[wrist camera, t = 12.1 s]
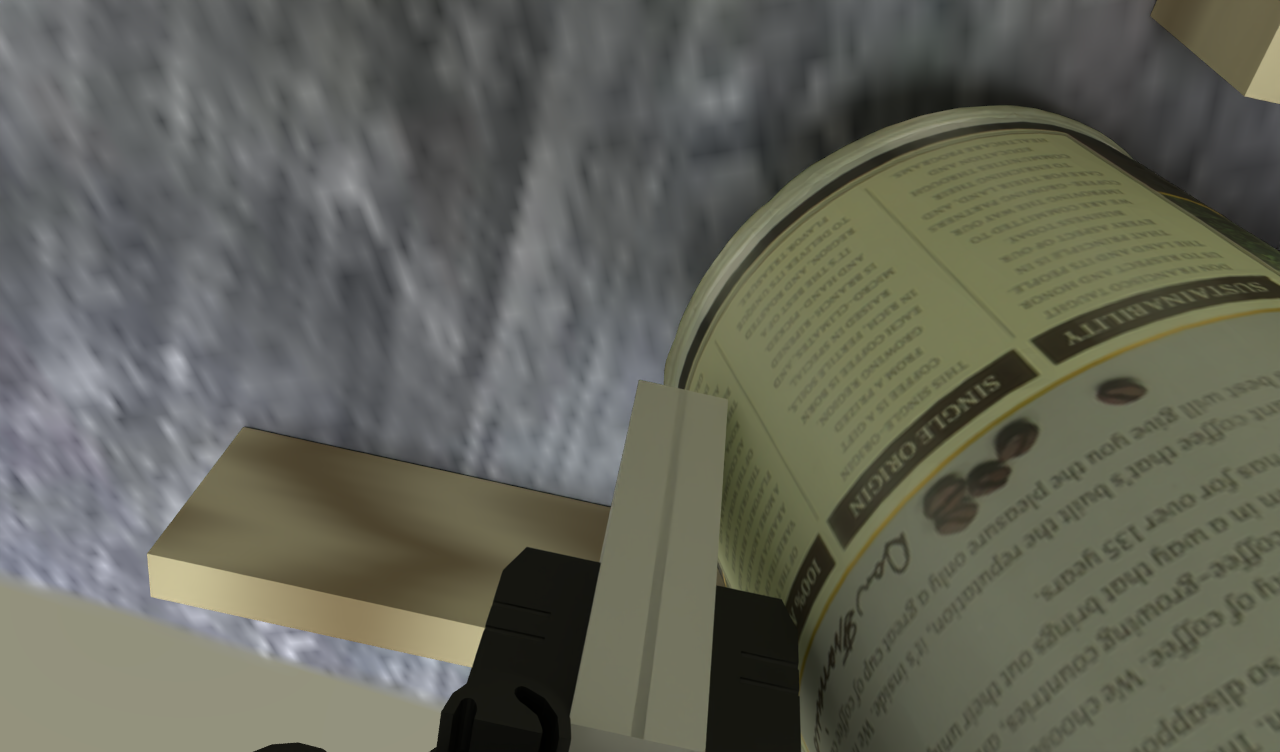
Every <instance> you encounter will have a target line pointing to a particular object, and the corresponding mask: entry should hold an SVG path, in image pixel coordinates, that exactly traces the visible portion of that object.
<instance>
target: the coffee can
mask: <svg viewBox="0 0 1280 752" xmlns="http://www.w3.org/2000/svg"><path fill="white" fill-rule="evenodd" d="M664 385H666V386H670V387H675V388H679V389H684V390H688V391H693V392H697V393H702V394H706V395H711V396H716V397H720V398H725V399H728V409H727V424H726V440H725V455H724V470H723V486H722V501H721V517H720V532H719V547H718V563H717V568H718V571H719V573H720V575H721V577H722V579H723V582H724V585H725V587H727V588H732V589H736V590H741V591H746V592H750V593H755V594H760V595H765V596H769V597H774V598H779V599H782V601H783V603H784V605H785V607H786V609H787V611H788V613H789V615H790V617H791V618H792V620H793V622H794V624H795V626H796V628H797V630H798V653H799V664H798V669H799V689H800V690H799V695H798V696H800V725H801V752H1280V252H1279V251H1277V250H1276V249H1274V248H1273V247H1271V246H1270V245H1268V244H1267V243H1265V242H1263V241H1262V240H1260V239H1259V238H1257V237H1256V236H1254V235H1252V234H1251V233H1249V232H1248V231H1246V230H1244V229H1243V228H1241V227H1239V226H1238V225H1236V224H1234V223H1232V222H1231V221H1230V220H1229V219H1227V218H1226V217H1224V216H1223V215H1221V214H1220V213H1218V212H1216V211H1215V210H1213V209H1211V208H1210V207H1208V206H1206V205H1205V204H1203V203H1201V202H1200V201H1198V200H1197V199H1195V198H1194V197H1192V196H1191V195H1189V194H1187V193H1186V192H1184V191H1183V190H1181V189H1179V188H1178V187H1176V186H1175V185H1173V184H1171V183H1170V182H1168V181H1167V180H1165V179H1163V178H1162V177H1160V176H1159V175H1157V174H1155V173H1154V172H1152V171H1151V170H1149V169H1148V168H1146V167H1145V166H1143V165H1142V164H1140V163H1138V162H1136V161H1135V160H1134V159H1133V158H1132V157H1131V156H1130V155H1129V154H1128V153H1127V152H1126V151H1124V150H1123V149H1122V148H1121V147H1120V146H1118V145H1117V144H1116V143H1115V142H1113V141H1112V140H1111V139H1109V138H1108V137H1106V136H1105V135H1103V134H1102V133H1100V132H1099V131H1097V130H1094V129H1092V128H1090V127H1088V126H1086V125H1084V124H1082V123H1080V122H1078V121H1075V120H1072V119H1070V118H1067V117H1064V116H1061V115H1059V114H1055V113H1051V112H1047V111H1043V110H1040V109H1036V108H1028V107H1022V106H1012V105H996V106H979V107H964V108H956V109H951V110H946V111H941V112H936V113H931V114H926V115H922V116H918V117H915V118H912V119H910V120H907V121H903V122H900V123H897V124H894V125H891V126H888V127H885V128H883V129H881V130H878V131H876V132H874V133H872V134H869V135H867V136H865V137H863V138H861V139H859V140H857V141H855V142H852V143H850V144H848V145H846V146H844V147H843V148H841V149H839V150H837V151H835V152H834V153H832V154H830V155H829V156H827V157H825V158H823V159H822V160H820V161H818V162H816V163H814V164H812V165H811V166H810V167H808V168H807V169H806V170H804V171H803V172H801V173H800V174H799V175H797V176H796V177H795V178H794V179H792V180H791V181H790V182H788V183H787V184H786V185H785V186H784V187H783V188H782V189H781V190H780V191H779V192H778V193H777V194H776V195H775V196H774V197H773V198H772V199H771V200H770V201H769V202H768V203H766V204H765V205H764V206H762V207H761V208H760V209H758V210H757V211H756V212H755V213H754V214H753V215H752V216H751V217H750V218H749V219H748V220H747V221H746V222H745V223H744V224H743V225H742V226H741V228H740V229H739V230H738V231H737V232H736V233H735V234H734V235H733V237H732V238H731V239H730V240H729V242H728V243H727V244H726V246H725V247H724V248H723V250H722V251H721V252H720V254H719V255H718V257H717V258H716V259H715V261H714V262H713V263H712V265H711V266H710V268H709V269H708V271H707V272H706V274H705V275H704V277H703V278H702V280H701V282H700V284H699V285H698V287H697V289H696V291H695V292H694V294H693V296H692V298H691V300H690V302H689V304H688V306H687V308H686V310H685V312H684V314H683V317H682V319H681V321H680V324H679V327H678V330H677V333H676V337H675V339H674V342H673V344H672V347H671V349H670V352H669V354H668V357H667V359H666V364H665V370H664Z"/></svg>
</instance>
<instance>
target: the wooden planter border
mask: <svg viewBox="0 0 1280 752" xmlns="http://www.w3.org/2000/svg"><path fill="white" fill-rule="evenodd" d="M1150 16H1151V17H1152V18H1153V19H1154V20H1156V21H1157V22H1158V23H1159V24H1160V25H1161V26H1163V27H1164V28H1165V29H1166V30H1167V31H1168V32H1170V33H1171V34H1172V35H1173V36H1174V37H1175V38H1177V39H1178V40H1179V41H1180V42H1181V43H1183V44H1184V45H1185V46H1186V47H1187V48H1188V49H1190V50H1191V51H1192V52H1193V53H1194V54H1195V55H1197V56H1198V57H1199V58H1200V59H1201V60H1202V61H1204V62H1205V63H1206V64H1207V65H1208V66H1209V67H1211V68H1212V69H1213V70H1214V71H1215V72H1217V73H1218V74H1219V75H1220V76H1221V77H1222V78H1224V79H1225V80H1226V81H1227V82H1228V83H1229V84H1231V85H1232V86H1233V87H1234V88H1235V89H1236V90H1238V91H1239V92H1240V93H1241V94H1242V95H1244V96H1245V97H1250V98H1255V99H1259V100H1264V101H1268V102H1273V103H1278V104H1280V0H1157V1H1156V4H1155V6H1154V8H1153V11H1152V13H1151V15H1150ZM610 509H611V508H610V507H606V506H601V505H597V504H592V503H588V502H583V501H579V500H574V499H569V498H565V497H560V496H556V495H551V494H547V493H542V492H538V491H533V490H528V489H524V488H519V487H515V486H510V485H506V484H501V483H497V482H492V481H487V480H483V479H478V478H474V477H469V476H465V475H460V474H456V473H451V472H447V471H442V470H437V469H433V468H428V467H424V466H419V465H415V464H410V463H406V462H401V461H396V460H392V459H387V458H383V457H378V456H374V455H369V454H365V453H360V452H355V451H351V450H346V449H342V448H337V447H333V446H328V445H324V444H319V443H314V442H310V441H305V440H301V439H296V438H292V437H287V436H283V435H278V434H273V433H269V432H264V431H260V430H255V429H251V428H246V427H243V428H242V429H241V431H240V432H239V433H238V435H237V436H236V437H235V439H234V440H233V441H232V443H231V444H230V445H229V447H228V448H227V449H226V451H225V452H224V453H223V455H222V456H221V457H220V458H219V460H218V461H217V462H216V464H215V465H214V466H213V468H212V469H211V470H210V472H209V473H208V474H207V476H206V477H205V478H204V480H203V481H202V482H201V483H200V485H199V486H198V487H197V489H196V490H195V491H194V493H193V494H192V495H191V497H190V498H189V499H188V501H187V502H186V503H185V505H184V506H183V507H182V508H181V510H180V511H179V512H178V514H177V515H176V516H175V518H174V519H173V520H172V522H171V523H170V524H169V526H168V527H167V528H166V530H165V531H164V532H163V533H162V535H161V536H160V537H159V539H158V540H157V541H156V543H155V544H154V545H153V547H152V548H151V549H150V551H149V552H148V553H147V557H148V569H149V580H150V592H151V597H154V598H159V599H163V600H168V601H172V602H177V603H181V604H186V605H190V606H195V607H199V608H204V609H209V610H213V611H218V612H222V613H227V614H231V615H236V616H240V617H245V618H249V619H254V620H259V621H263V622H268V623H272V624H277V625H281V626H286V627H290V628H295V629H299V630H304V631H309V632H313V633H318V634H322V635H327V636H331V637H336V638H340V639H345V640H349V641H354V642H359V643H363V644H368V645H372V646H377V647H381V648H386V649H390V650H395V651H399V652H404V653H409V654H413V655H418V656H422V657H427V658H431V659H436V660H440V661H445V662H449V663H454V664H458V665H463V666H468V667H472V665H473V662H474V659H475V656H476V653H477V650H478V646H479V643H480V640H481V637H482V634H483V631H484V629H485V625H486V621H487V618H488V615H489V612H490V609H491V606H492V604H493V599H494V596H495V593H496V590H497V587H498V584H499V581H500V577H501V574H502V571H503V569H504V568H505V567H506V566H507V565H508V564H510V563H511V562H512V561H513V560H514V559H515V558H516V557H517V556H518V555H519V554H520V553H521V552H522V551H523V550H524V549H525V548H526V547H530V548H535V549H540V550H544V551H549V552H554V553H558V554H563V555H568V556H572V557H577V558H582V559H586V560H591V561H596V562H599V561H600V557H601V552H602V547H603V542H604V537H605V532H606V528H607V523H608V518H609V513H610ZM716 585H718V586H722V587H725V585H724V582H723V579H722V577H721V575H720V573H719V571H718V568H717V578H716Z"/></svg>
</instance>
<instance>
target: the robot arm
mask: <svg viewBox="0 0 1280 752" xmlns="http://www.w3.org/2000/svg"><path fill="white" fill-rule="evenodd" d="M727 409H728V399H725V398H720V397H716V396H711V395H706V394H702V393H697V392H693V391H688V390H684V389H679V388H675V387H670V386H666V385H661V384H656V383H652V382H647V381H642V380H639V382H638V387H637V391H636V396H635V400H634V405H633V409H632V414H631V418H630V423H629V427H628V432H627V437H626V441H625V446H624V450H623V455H622V459H621V464H620V468H619V473H618V477H617V482H616V486H615V491H614V495H613V500H612V504H611V509H610V513H609V518H608V523H607V528H606V532H605V537H604V542H603V547H602V552H601V557H600V561H599V562H596V561H591V560H586V559H582V558H577V557H572V556H568V555H563V554H558V553H554V552H549V551H544V550H540V549H535V548H530V547H526V548H525V549H524V550H523V551H522V552H521V553H520V554H519V555H518V556H517V557H516V558H515V559H514V560H513V561H512V562H511V563H510V564H508V565H507V566H506V567H505V568H504V569H503V571H502V574H501V577H500V581H499V584H498V587H497V590H496V593H495V596H494V599H493V604H492V606H491V609H490V612H489V615H488V618H487V621H486V625H485V629H484V631H483V634H482V637H481V640H480V643H479V646H478V650H477V653H476V656H475V659H474V662H473V665H472V668H471V672H470V675H469V678H468V681H467V684H465V685H464V686H463V687H461V688H460V689H458V690H457V691H455V692H454V693H453V694H452V695H451V697H450V698H449V700H448V702H447V703H446V705H445V706H444V708H443V710H442V711H441V718H440V726H439V733H438V741H437V747H436V748H434V749H433V750H431V751H430V752H801V725H800V696H798V695H799V690H800V689H799V669H798V664H799V653H798V630H797V628H796V626H795V624H794V622H793V620H792V618H791V617H790V615H789V613H788V611H787V609H786V607H785V605H784V603H783V601H782V599H779V598H774V597H769V596H765V595H760V594H755V593H750V592H746V591H741V590H736V589H732V588H727V587H722V586H718V585H716V578H717V563H718V547H719V532H720V517H721V501H722V486H723V470H724V455H725V440H726V424H727ZM254 752H326V751H325V750H324V749H321V748H317V747H314V746H310V745H306V744H302V743H287V744H286V743H285V744H272V745H269V746H267V747H264V748H262V749H259V750H257V751H254Z"/></svg>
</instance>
